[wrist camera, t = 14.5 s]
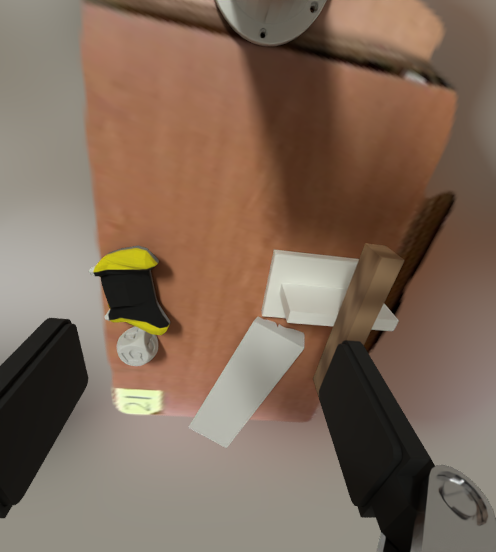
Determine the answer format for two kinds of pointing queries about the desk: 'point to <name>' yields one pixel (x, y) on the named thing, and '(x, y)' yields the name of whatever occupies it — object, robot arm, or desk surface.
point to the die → (137, 346)
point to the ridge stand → (312, 289)
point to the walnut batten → (361, 301)
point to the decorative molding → (247, 380)
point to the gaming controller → (131, 289)
